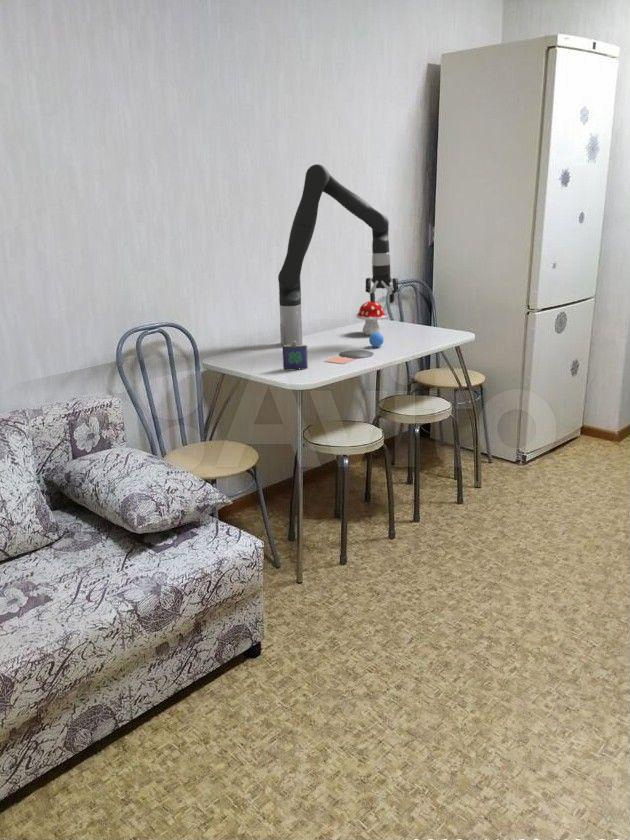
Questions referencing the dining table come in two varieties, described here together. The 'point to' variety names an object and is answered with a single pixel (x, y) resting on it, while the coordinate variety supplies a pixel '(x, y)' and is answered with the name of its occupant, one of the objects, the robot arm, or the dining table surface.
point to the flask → (295, 356)
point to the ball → (376, 339)
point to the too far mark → (339, 360)
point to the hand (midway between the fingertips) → (382, 302)
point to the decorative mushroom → (371, 316)
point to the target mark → (356, 354)
